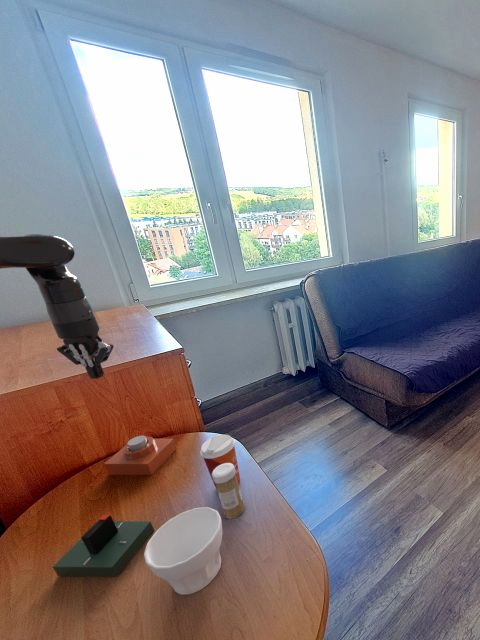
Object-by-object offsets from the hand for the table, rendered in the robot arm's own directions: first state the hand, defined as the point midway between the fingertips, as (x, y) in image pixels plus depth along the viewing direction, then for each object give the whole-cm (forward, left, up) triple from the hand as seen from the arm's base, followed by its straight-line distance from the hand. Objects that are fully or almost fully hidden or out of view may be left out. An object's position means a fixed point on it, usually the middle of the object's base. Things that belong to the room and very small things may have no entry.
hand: (97, 377), depth 89 cm
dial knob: (+19, -28, -24) cm, 41 cm away
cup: (+41, -32, -27) cm, 59 cm away
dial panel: (+19, -28, -27) cm, 43 cm away
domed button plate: (+6, -2, -27) cm, 28 cm away
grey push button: (+6, -2, -21) cm, 22 cm away
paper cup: (+35, -10, -27) cm, 45 cm away
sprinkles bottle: (+41, -18, -27) cm, 52 cm away
